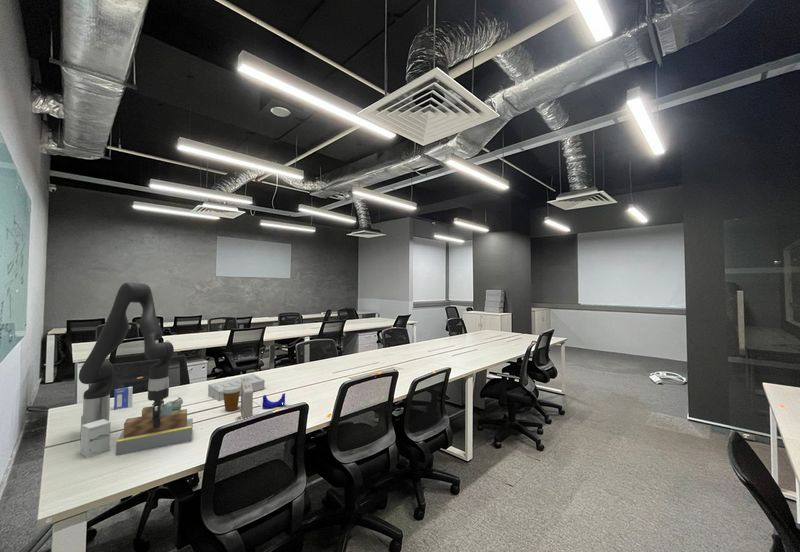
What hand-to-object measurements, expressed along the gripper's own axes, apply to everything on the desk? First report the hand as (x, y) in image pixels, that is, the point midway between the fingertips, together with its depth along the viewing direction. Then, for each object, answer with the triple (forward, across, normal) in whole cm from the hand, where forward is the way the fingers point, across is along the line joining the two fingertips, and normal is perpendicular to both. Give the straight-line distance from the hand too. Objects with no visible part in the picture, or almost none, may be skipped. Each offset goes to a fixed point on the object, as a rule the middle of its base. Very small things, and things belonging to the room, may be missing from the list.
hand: (157, 424), depth 143 cm
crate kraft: (-4, 0, -4) cm, 5 cm away
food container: (+8, -25, +4) cm, 27 cm away
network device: (+8, -3, +36) cm, 37 cm away
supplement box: (+8, -2, -21) cm, 23 cm away
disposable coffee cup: (+8, -28, +31) cm, 43 cm away
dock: (+8, 0, 0) cm, 8 cm away
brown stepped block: (+2, 0, 0) cm, 2 cm away
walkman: (+8, -59, -22) cm, 63 cm away
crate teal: (-4, 0, +3) cm, 5 cm away
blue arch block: (+8, -20, +53) cm, 57 cm away
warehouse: (+9, -59, +36) cm, 70 cm away
